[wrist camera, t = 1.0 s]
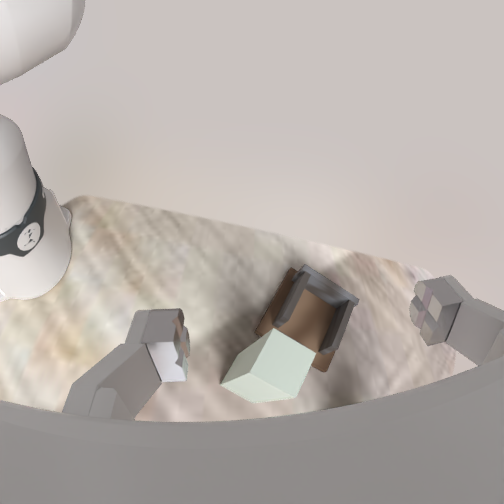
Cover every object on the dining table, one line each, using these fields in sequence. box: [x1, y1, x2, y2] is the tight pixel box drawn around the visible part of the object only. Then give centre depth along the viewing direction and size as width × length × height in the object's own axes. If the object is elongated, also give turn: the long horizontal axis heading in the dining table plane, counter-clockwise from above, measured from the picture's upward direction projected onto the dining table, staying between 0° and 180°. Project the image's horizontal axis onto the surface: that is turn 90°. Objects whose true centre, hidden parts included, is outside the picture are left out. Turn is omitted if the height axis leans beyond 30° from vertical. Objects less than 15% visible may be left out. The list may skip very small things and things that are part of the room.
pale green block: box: [220, 328, 316, 403], centre depth 34 cm, size 5×6×14 cm
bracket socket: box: [255, 264, 359, 372], centre depth 44 cm, size 12×12×5 cm
